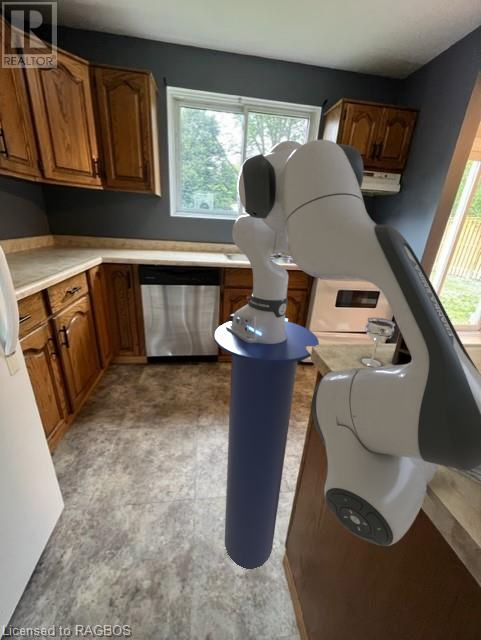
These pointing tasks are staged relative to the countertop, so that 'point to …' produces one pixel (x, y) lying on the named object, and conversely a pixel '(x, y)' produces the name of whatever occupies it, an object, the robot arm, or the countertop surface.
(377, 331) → the wineglass
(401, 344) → the shelf
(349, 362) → the countertop surface
